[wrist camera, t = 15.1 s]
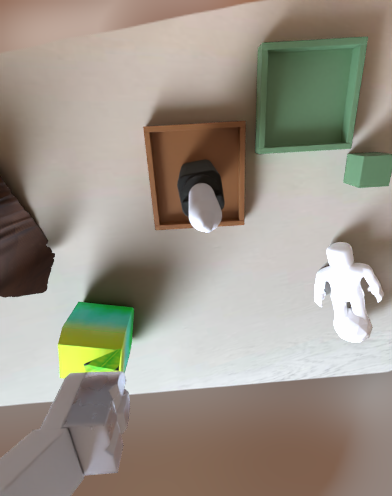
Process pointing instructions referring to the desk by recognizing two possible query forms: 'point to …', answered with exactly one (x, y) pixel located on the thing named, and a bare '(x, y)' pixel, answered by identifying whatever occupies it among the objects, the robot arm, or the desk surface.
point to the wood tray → (188, 150)
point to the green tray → (308, 94)
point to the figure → (347, 291)
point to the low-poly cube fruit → (96, 339)
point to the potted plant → (21, 250)
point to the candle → (201, 194)
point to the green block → (368, 169)
